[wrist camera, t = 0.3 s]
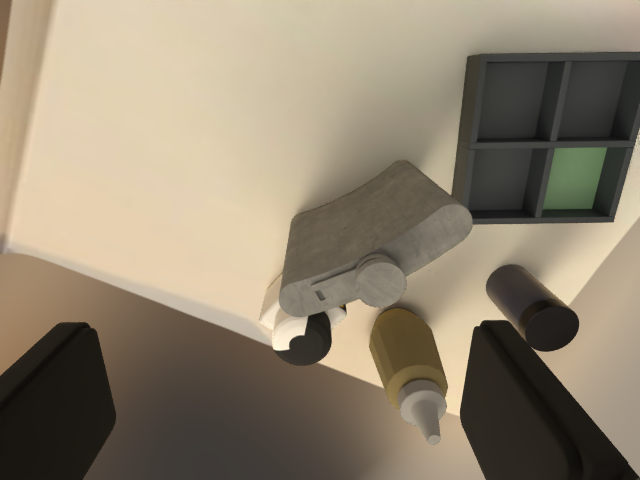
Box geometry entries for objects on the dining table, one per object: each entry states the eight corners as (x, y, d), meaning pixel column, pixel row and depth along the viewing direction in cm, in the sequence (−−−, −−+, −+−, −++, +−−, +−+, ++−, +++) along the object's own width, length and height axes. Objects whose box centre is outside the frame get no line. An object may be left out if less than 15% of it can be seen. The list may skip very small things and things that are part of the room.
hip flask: (408, 155, 44) (477, 206, 25) (422, 186, 45) (498, 256, 27) (285, 220, 47) (267, 310, 28) (302, 248, 48) (295, 351, 29)
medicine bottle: (344, 284, 50) (352, 342, 39) (307, 321, 52) (305, 386, 41) (300, 251, 48) (296, 301, 37) (265, 290, 50) (250, 349, 39)
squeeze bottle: (435, 335, 53) (491, 452, 36) (381, 360, 54) (411, 482, 38) (411, 289, 50) (459, 391, 34) (354, 316, 52) (374, 427, 35)
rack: (467, 56, 40) (481, 53, 37) (632, 54, 41) (660, 51, 37) (449, 214, 47) (459, 224, 43) (592, 212, 47) (613, 222, 43)
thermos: (489, 265, 49) (530, 306, 40) (533, 264, 49) (584, 305, 40) (483, 303, 51) (520, 352, 42) (525, 303, 51) (572, 351, 42)
